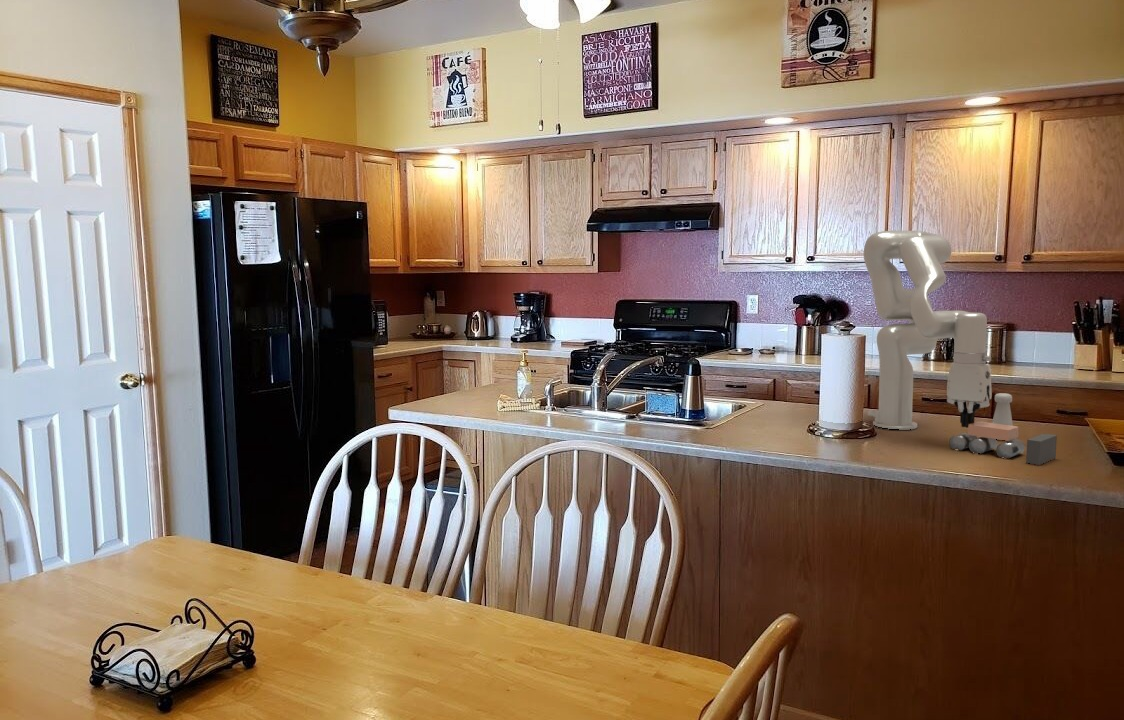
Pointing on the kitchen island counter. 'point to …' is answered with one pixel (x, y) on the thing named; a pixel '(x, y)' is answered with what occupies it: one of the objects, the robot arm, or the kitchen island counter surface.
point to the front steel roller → (982, 444)
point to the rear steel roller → (961, 441)
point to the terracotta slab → (993, 430)
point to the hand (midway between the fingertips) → (967, 426)
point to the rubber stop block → (1041, 449)
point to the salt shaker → (1003, 409)
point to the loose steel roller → (1010, 448)
